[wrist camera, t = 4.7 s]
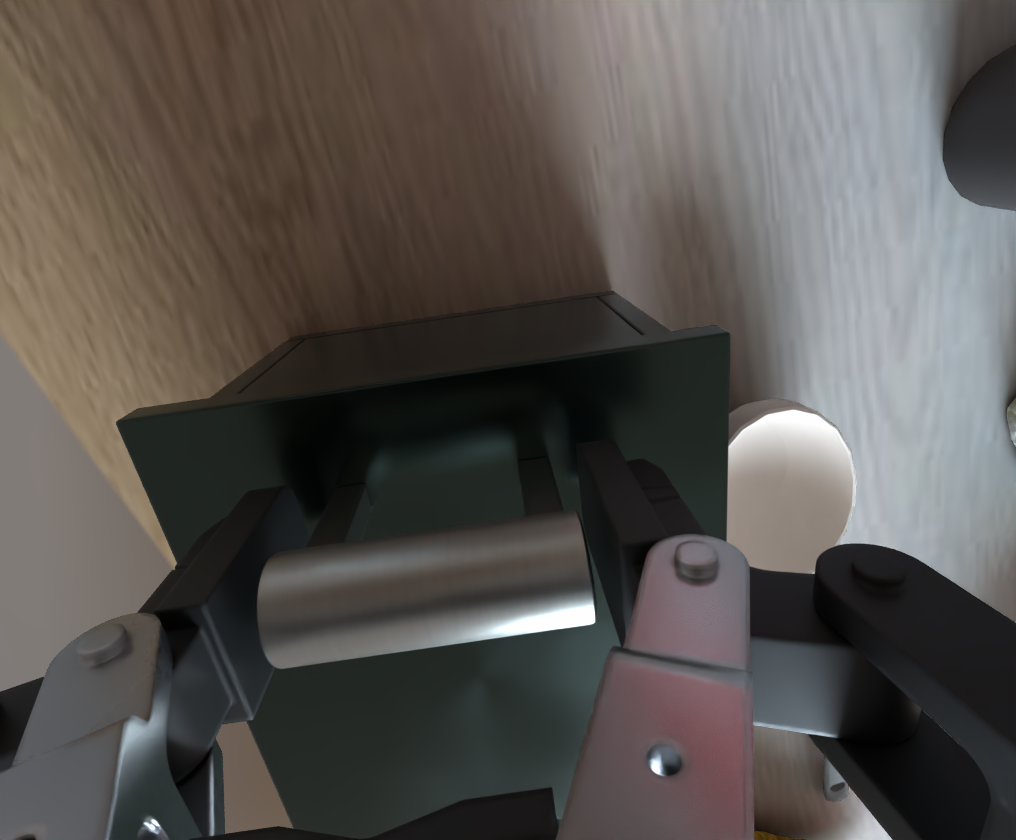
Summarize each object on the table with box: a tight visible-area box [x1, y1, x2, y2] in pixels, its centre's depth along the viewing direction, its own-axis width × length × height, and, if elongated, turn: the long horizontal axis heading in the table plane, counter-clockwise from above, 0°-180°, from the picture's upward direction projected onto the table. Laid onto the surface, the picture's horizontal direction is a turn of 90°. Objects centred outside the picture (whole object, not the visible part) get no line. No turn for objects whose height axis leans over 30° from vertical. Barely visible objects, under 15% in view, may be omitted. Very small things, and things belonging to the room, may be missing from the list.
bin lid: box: [116, 325, 730, 839], centre depth 13 cm, size 16×13×5 cm
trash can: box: [210, 291, 670, 398], centre depth 20 cm, size 16×13×10 cm
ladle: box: [727, 398, 857, 802], centre depth 27 cm, size 6×28×5 cm, turn 22°
